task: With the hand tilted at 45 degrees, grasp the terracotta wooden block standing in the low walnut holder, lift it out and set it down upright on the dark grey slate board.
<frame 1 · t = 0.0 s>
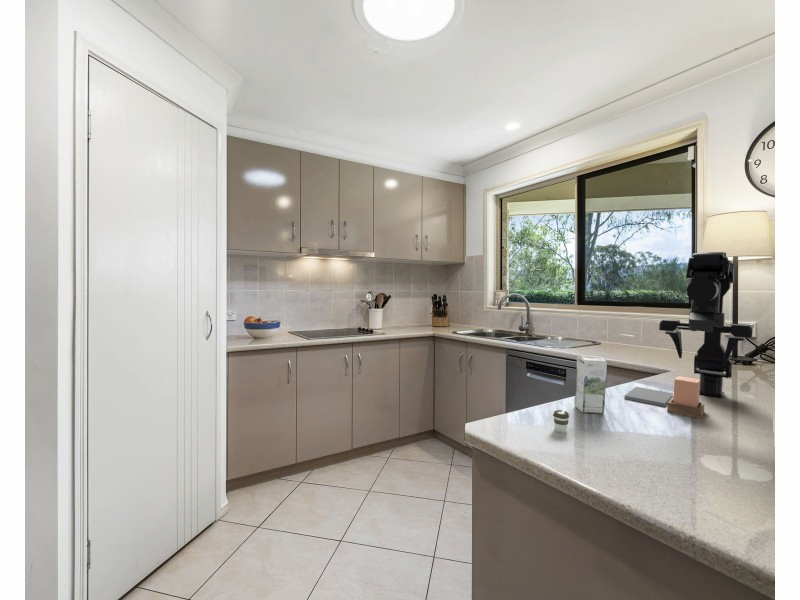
hand: (702, 360, 101), 15 cm above the counter, tool pointing down, fingers open, 9 cm apart
walnut holder: (685, 411, 105), on the counter
slate board: (649, 397, 117), on the counter
terracotta block: (685, 412, 105), resting in walnut holder
coffee cup: (560, 433, 90), on the counter
syrup box: (589, 411, 105), on the counter
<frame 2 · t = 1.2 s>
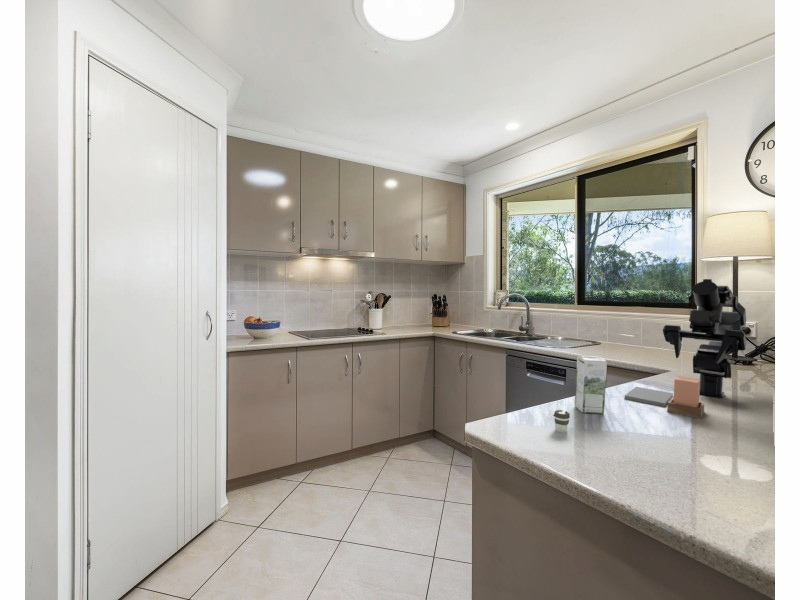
hand: (696, 359, 109), 13 cm above the counter, tool tilted 45°, fingers open, 9 cm apart
nothing on the counter moved.
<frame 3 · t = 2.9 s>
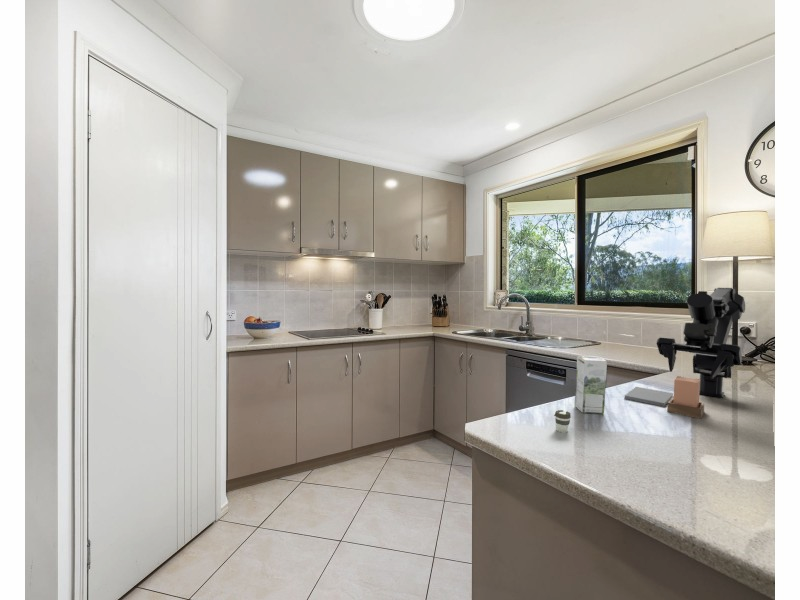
hand: (690, 374, 106), 10 cm above the counter, tool tilted 45°, fingers open, 9 cm apart
nothing on the counter moved.
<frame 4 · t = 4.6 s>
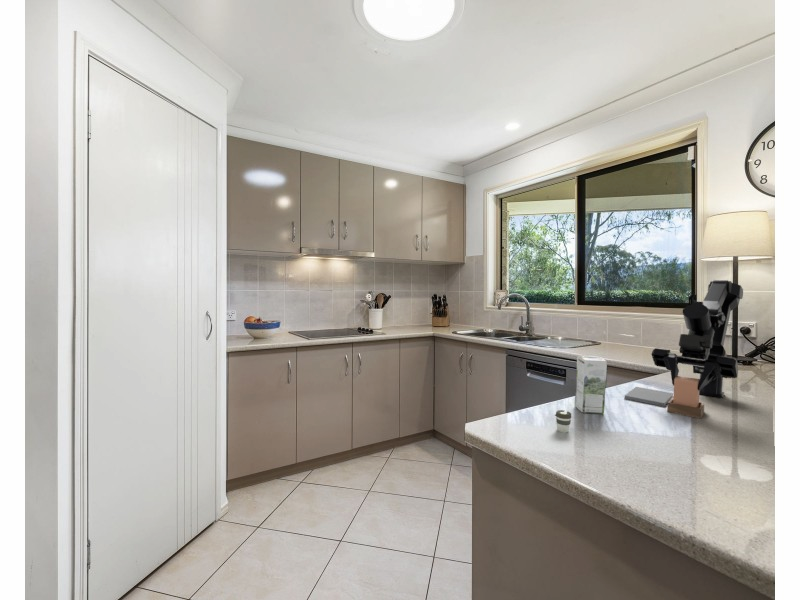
hand: (685, 386, 103), 7 cm above the counter, tool tilted 45°, fingers closed on terracotta block, 5 cm apart
terracotta block: (685, 411, 105), resting in walnut holder, touching gripper
everything else where it was.
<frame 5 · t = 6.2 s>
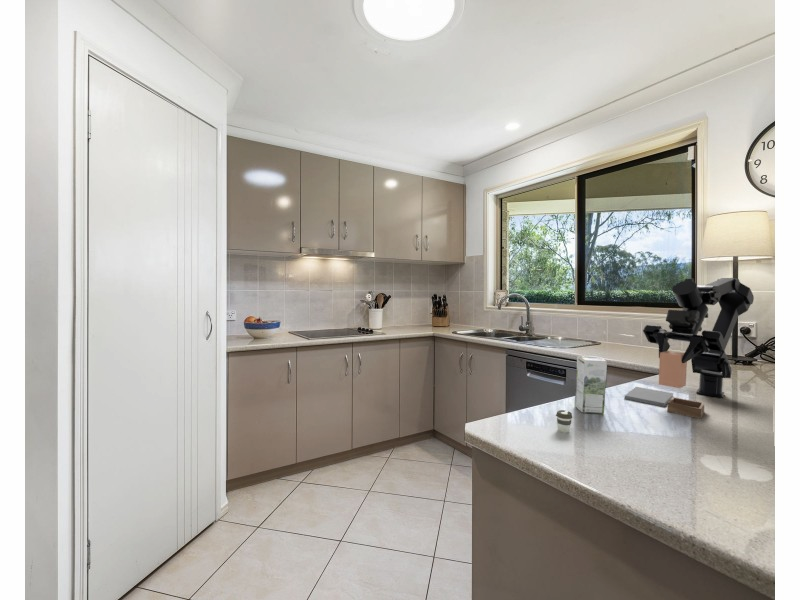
hand: (671, 360, 107), 13 cm above the counter, tool tilted 45°, fingers closed on terracotta block, 5 cm apart
terracotta block: (672, 384, 108), point 6 cm above the counter, touching gripper
everything else where it was.
when the fingers open (9 cm above the counter, at t = 8.2 s): terracotta block drops 1 cm, resting on slate board.
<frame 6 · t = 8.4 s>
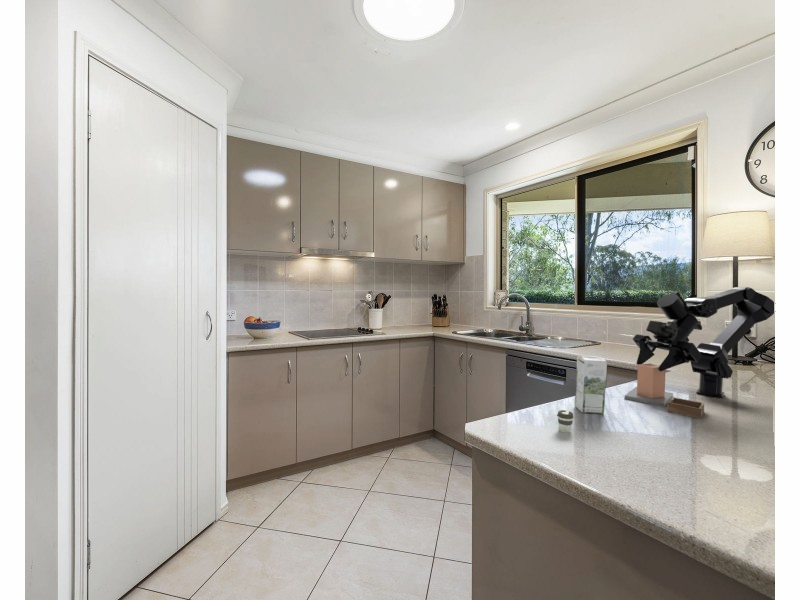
hand: (648, 367, 115), 10 cm above the counter, tool tilted 45°, fingers open, 7 cm apart
terracotta block: (650, 395, 116), point 1 cm above the counter, touching slate board
everything else where it was.
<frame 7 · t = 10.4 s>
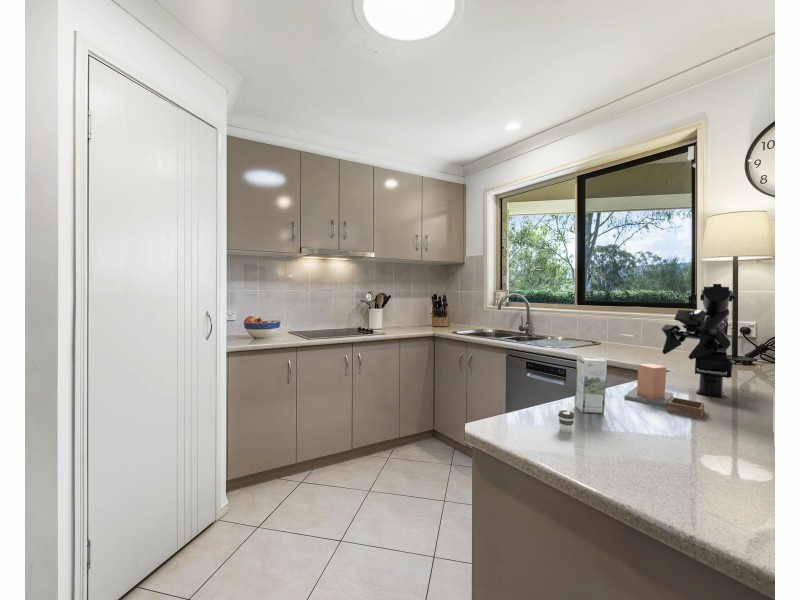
hand: (676, 355, 117), 13 cm above the counter, tool tilted 45°, fingers open, 9 cm apart
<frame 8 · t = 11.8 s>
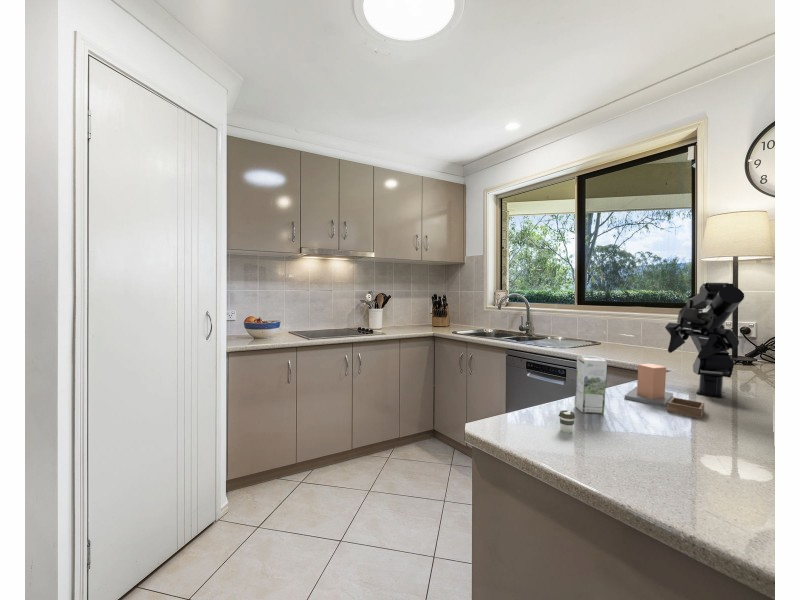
hand: (683, 354, 115), 14 cm above the counter, tool tilted 45°, fingers open, 9 cm apart
at the end: terracotta block inside the target area on the slate board (1.1 cm from its centre), point 1.0 cm above the slate board's base; terracotta block tilted 0°; the gripper is holding nothing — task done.
